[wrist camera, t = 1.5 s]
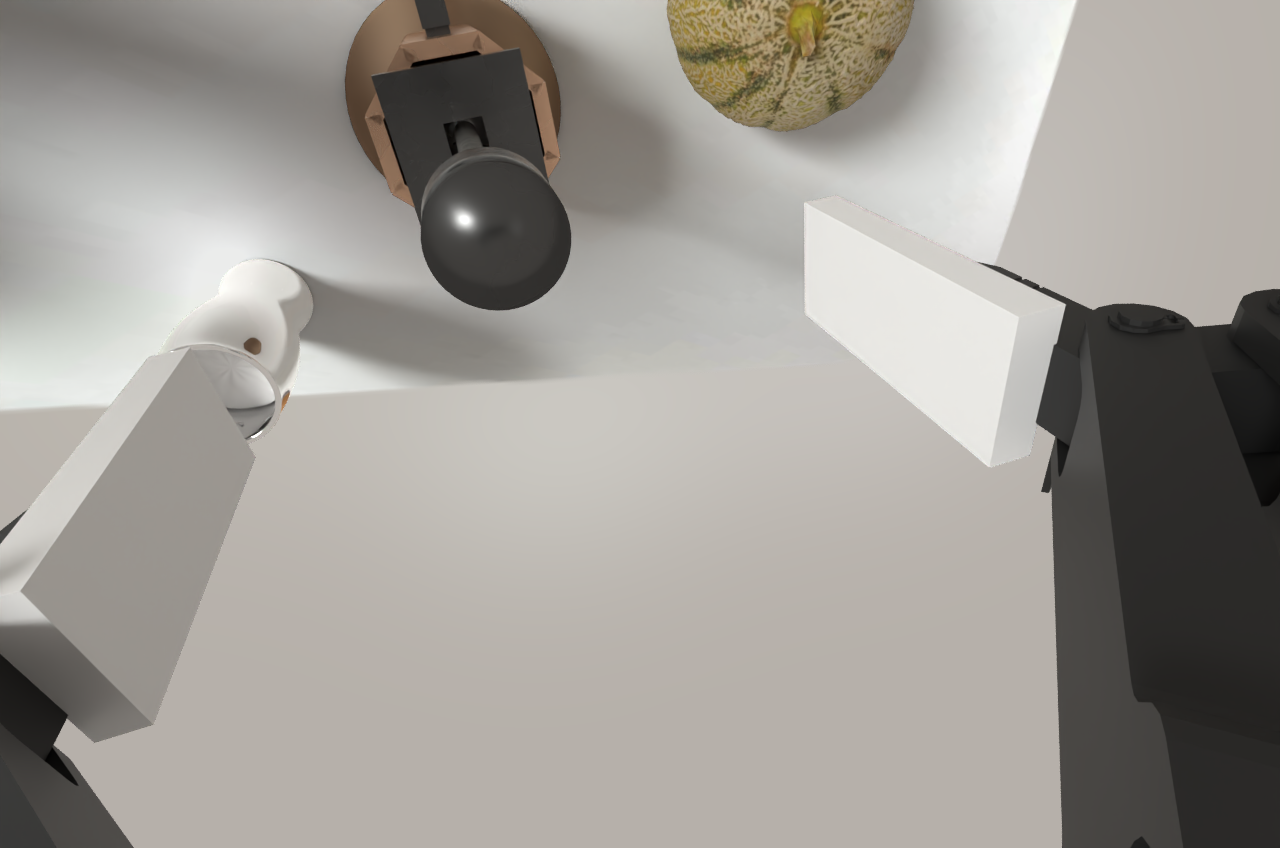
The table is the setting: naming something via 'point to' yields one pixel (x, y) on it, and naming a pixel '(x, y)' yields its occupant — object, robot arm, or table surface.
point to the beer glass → (249, 341)
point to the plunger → (492, 224)
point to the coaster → (399, 17)
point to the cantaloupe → (785, 54)
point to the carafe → (454, 102)
